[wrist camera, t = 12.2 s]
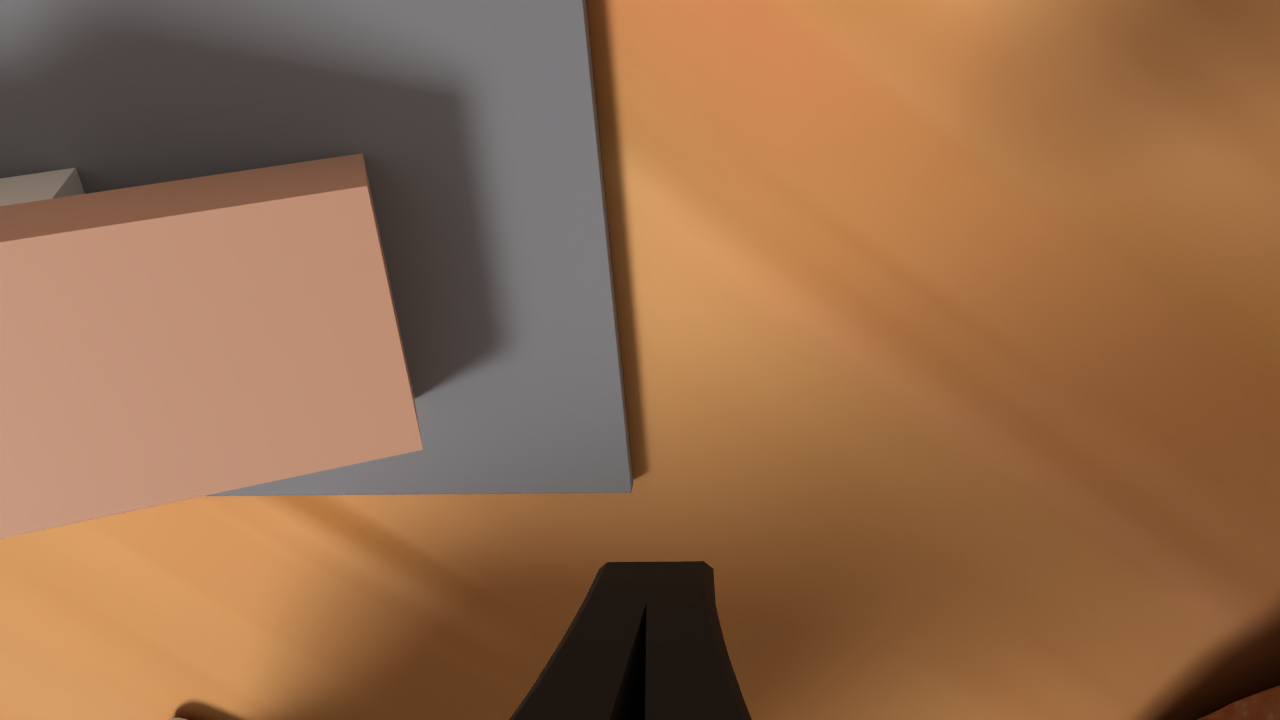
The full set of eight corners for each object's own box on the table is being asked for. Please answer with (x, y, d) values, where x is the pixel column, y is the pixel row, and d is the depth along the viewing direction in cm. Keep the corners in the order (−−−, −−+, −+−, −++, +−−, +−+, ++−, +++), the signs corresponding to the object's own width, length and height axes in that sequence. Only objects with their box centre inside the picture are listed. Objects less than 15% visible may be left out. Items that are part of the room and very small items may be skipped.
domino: (367, 185, 16) (-265, 283, 14) (423, 449, 19) (-109, 561, 17) (362, 153, 18) (-203, 235, 16) (414, 398, 20) (-69, 495, 19)
